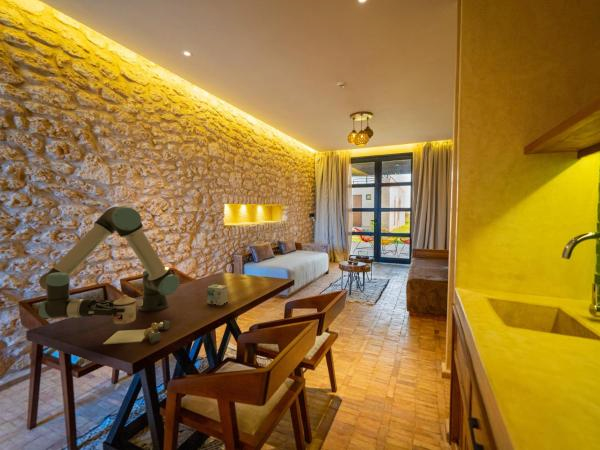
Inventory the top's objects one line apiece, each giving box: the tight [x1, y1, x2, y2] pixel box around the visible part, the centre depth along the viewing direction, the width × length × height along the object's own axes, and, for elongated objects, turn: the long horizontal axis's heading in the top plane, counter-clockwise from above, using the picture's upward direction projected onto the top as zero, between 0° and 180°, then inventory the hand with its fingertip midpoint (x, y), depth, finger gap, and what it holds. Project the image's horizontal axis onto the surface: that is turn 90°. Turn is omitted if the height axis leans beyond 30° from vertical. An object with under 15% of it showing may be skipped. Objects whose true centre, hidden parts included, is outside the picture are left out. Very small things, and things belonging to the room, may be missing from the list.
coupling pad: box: [102, 328, 147, 345], centre depth 127 cm, size 13×15×1 cm
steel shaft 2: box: [150, 319, 170, 332], centre depth 134 cm, size 7×4×5 cm, turn 144°
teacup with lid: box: [112, 294, 137, 325], centre depth 125 cm, size 12×9×12 cm
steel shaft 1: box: [144, 327, 161, 344], centre depth 123 cm, size 7×4×5 cm, turn 54°
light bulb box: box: [206, 284, 228, 306], centre depth 175 cm, size 11×7×11 cm, turn 71°
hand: (138, 305), depth 127 cm, fingers closed on teacup with lid, 9 cm apart
